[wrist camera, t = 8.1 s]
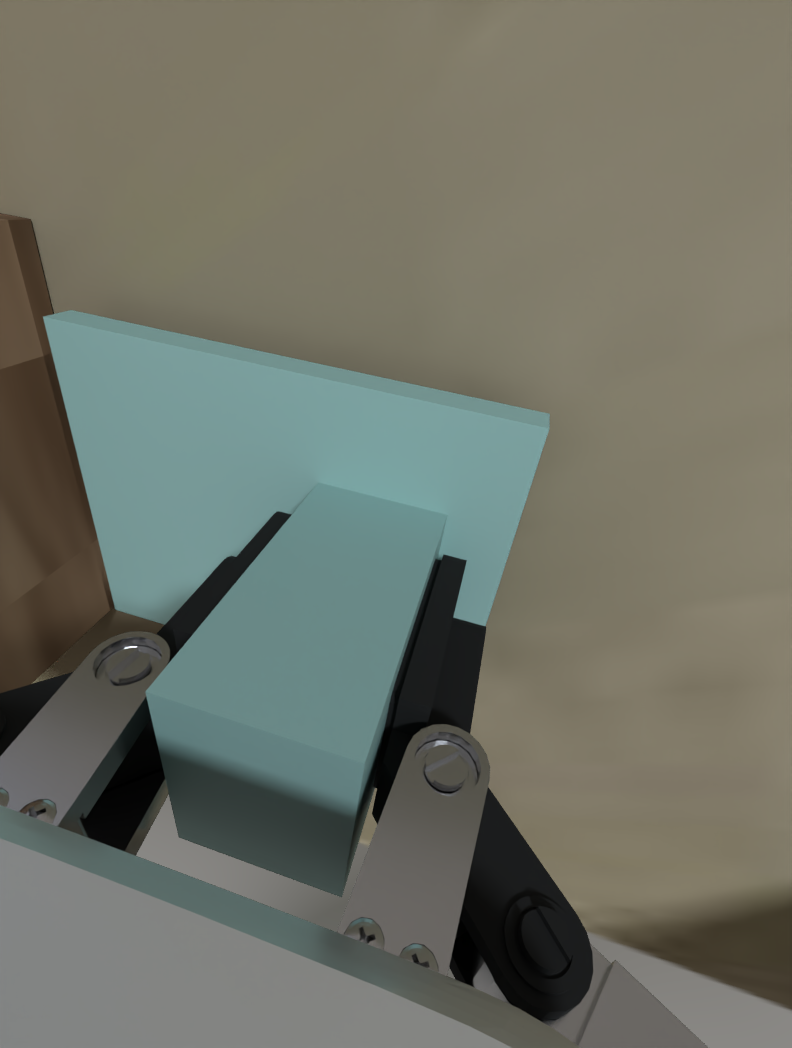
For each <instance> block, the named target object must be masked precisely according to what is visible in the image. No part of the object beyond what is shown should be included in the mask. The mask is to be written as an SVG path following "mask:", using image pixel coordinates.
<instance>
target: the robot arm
mask: <svg viewBox="0 0 792 1048" xmlns="http://www.w3.org/2000/svg"><path fill="white" fill-rule="evenodd" d="M291 515H292V514H288V513H284V512H280V511H277V512H276V513H274V514H273V516H272V517H271V518H270V519H269V520H268V521H267V522H266V524H265V525H264V526H263V527H262V528H261V529H260V530H259V532H258V533H257V534H256V535H255V536H254V537H253V538H252V540H251V541H250V542H249V543H248V544H247V545H246V546H245V548H244V549H243V550H242V551H241V552H240V553H239V554H238V556H237V557H234V556H229V557H227V558H226V559H224V560H223V561H222V562H221V563H220V564H219V566H218V567H217V568H216V569H215V570H214V571H213V572H212V573H211V574H210V575H209V577H208V578H207V579H206V580H205V581H204V582H203V583H202V584H201V585H200V587H199V588H198V589H197V590H196V591H195V592H194V593H193V594H192V595H191V597H190V598H189V599H188V600H187V601H186V602H185V603H184V604H183V605H182V606H181V608H180V609H179V610H178V611H177V612H176V613H175V614H174V615H173V616H172V618H171V619H170V620H169V621H168V622H167V623H166V624H165V625H164V626H163V627H162V629H161V630H160V631H159V632H158V633H157V634H153V633H151V632H143V631H134V632H126V633H122V634H119V635H116V636H113V637H111V638H109V639H108V640H106V641H104V642H102V643H100V644H99V645H98V646H97V647H96V648H95V649H94V650H93V651H92V652H90V654H89V655H88V656H87V657H86V658H85V659H84V661H83V662H82V663H81V664H80V665H79V666H78V667H77V669H76V670H75V671H74V672H72V673H68V674H65V675H61V676H58V677H54V678H51V679H47V680H44V681H41V682H37V683H34V684H30V685H27V686H23V687H20V688H16V689H13V690H9V691H6V692H3V693H0V1048H708V1047H707V1046H706V1045H705V1044H704V1043H703V1042H702V1041H701V1040H700V1039H699V1038H698V1037H697V1036H696V1035H695V1034H693V1033H692V1032H691V1031H690V1030H689V1029H688V1028H687V1027H686V1026H685V1025H684V1024H683V1023H682V1022H681V1021H680V1020H678V1019H677V1017H675V1016H674V1015H673V1014H672V1013H671V1012H670V1011H669V1010H668V1009H667V1008H666V1007H665V1006H664V1005H663V1004H662V1003H661V1002H660V1001H659V1000H657V999H656V998H655V997H654V996H653V995H652V994H651V993H650V992H649V991H648V990H647V989H646V988H645V987H644V986H643V985H642V984H641V983H639V982H638V981H637V980H636V979H635V978H634V977H633V976H632V975H631V974H630V973H629V972H628V971H627V970H626V969H625V968H624V967H622V966H621V965H620V964H619V963H618V962H617V961H616V960H615V961H614V962H612V963H610V962H609V961H608V960H607V959H606V958H605V957H604V956H603V955H602V954H601V953H599V952H598V951H597V950H596V949H595V948H594V947H593V946H592V945H591V944H590V942H589V939H588V935H587V932H586V930H585V928H584V927H583V925H582V923H581V921H580V919H579V917H578V916H577V914H576V913H575V911H574V910H573V908H572V907H571V905H570V904H569V902H568V901H567V900H566V898H565V897H564V895H563V894H562V892H561V891H560V890H559V888H558V887H557V885H556V884H555V882H554V881H553V880H552V878H551V877H550V875H549V874H548V872H547V871H546V869H545V868H544V867H543V865H542V864H541V862H540V861H539V859H538V858H537V857H536V855H535V854H534V852H533V851H532V849H531V848H530V846H529V845H528V844H527V842H526V841H525V839H524V838H523V836H522V835H521V834H520V832H519V831H518V829H517V828H516V826H515V825H514V823H513V822H512V821H511V819H510V818H509V816H508V815H507V813H506V812H505V811H504V809H503V808H502V806H501V805H500V803H499V802H498V801H497V799H496V798H495V796H494V795H493V793H492V792H491V790H490V789H489V788H488V785H489V780H490V765H489V761H488V758H487V754H486V753H485V751H484V749H483V748H482V746H481V745H480V743H479V742H478V741H477V740H476V739H475V738H474V737H473V736H472V735H471V734H470V730H471V724H472V717H473V711H474V704H475V698H476V692H477V685H478V679H479V672H480V666H481V659H482V653H483V647H484V640H485V634H486V626H482V625H479V624H475V623H471V622H468V621H464V620H461V619H457V618H453V617H454V612H455V608H456V604H457V600H458V596H459V591H460V587H461V583H462V579H463V575H464V570H465V566H466V562H467V560H463V559H460V558H456V557H452V556H448V555H444V554H443V557H442V560H438V559H435V561H434V564H433V568H432V571H431V574H430V577H429V580H428V583H427V586H426V589H425V592H424V595H423V598H422V601H421V604H420V607H419V610H418V614H417V617H416V620H415V623H414V626H413V629H412V632H411V635H410V638H409V641H408V644H407V647H406V650H405V653H404V657H403V660H402V663H401V666H400V669H399V672H398V675H397V678H396V681H395V684H394V688H393V691H392V695H391V699H390V703H389V708H388V713H387V718H386V724H385V729H384V734H383V739H382V744H381V749H380V754H379V759H378V764H377V769H376V774H375V779H374V785H373V787H375V788H377V792H376V797H375V802H374V807H373V812H372V815H373V817H374V819H375V821H376V823H377V827H376V830H375V833H374V835H373V838H372V841H371V843H370V846H369V848H368V851H367V854H366V856H365V859H364V862H363V864H362V867H361V870H360V872H359V875H358V877H357V880H356V883H355V885H354V888H353V891H352V893H351V896H350V899H349V901H348V904H347V906H346V909H345V911H344V915H343V917H342V920H341V922H340V925H339V927H338V930H337V932H334V931H332V930H329V929H327V928H324V927H321V926H319V925H316V924H313V923H311V922H308V921H306V920H303V919H301V918H298V917H295V916H293V915H290V914H288V913H285V912H282V911H280V910H277V909H274V908H272V907H269V906H267V905H264V904H261V903H259V902H256V901H254V900H251V899H248V898H246V897H243V896H241V895H238V894H235V893H233V892H230V891H227V890H225V889H222V888H219V887H216V886H214V885H212V884H209V883H206V882H204V881H201V880H198V879H195V878H193V877H190V876H188V875H185V874H183V873H180V872H177V871H175V870H172V869H169V868H167V867H164V866H161V865H159V864H156V863H153V862H151V861H148V860H145V859H143V858H140V857H137V856H136V854H137V852H138V850H139V848H140V846H141V845H142V843H143V841H144V839H145V837H146V835H147V834H148V832H149V830H150V828H151V826H152V824H153V822H154V820H155V819H156V817H157V815H158V813H159V811H160V809H161V807H162V806H163V804H164V802H165V800H166V798H167V796H168V794H169V792H168V788H167V784H166V779H165V775H164V771H163V766H162V762H161V758H160V753H159V749H158V745H157V740H156V736H155V732H154V727H153V723H152V719H151V714H150V710H149V706H148V701H147V697H146V693H145V692H146V690H147V689H148V688H149V687H150V686H151V684H152V683H153V682H154V681H155V679H156V678H157V677H158V676H159V675H160V673H161V672H162V671H163V670H164V669H165V667H166V666H167V665H168V664H169V663H170V661H171V660H172V659H173V658H174V657H175V655H176V654H177V653H178V652H179V650H180V649H181V648H182V647H183V646H184V644H185V643H186V642H187V641H188V640H189V638H190V637H191V636H192V635H193V634H194V632H195V631H196V630H197V629H198V628H199V626H200V625H201V624H202V623H203V622H204V620H205V619H206V618H207V617H208V615H209V614H210V613H211V612H212V611H213V609H214V608H215V607H216V606H217V605H218V603H219V602H220V601H221V600H222V599H223V597H224V596H225V595H226V594H227V593H228V591H229V590H230V589H231V588H232V586H233V585H234V584H235V583H236V582H237V580H238V579H239V578H240V577H241V576H242V574H243V573H244V572H245V571H246V570H247V568H248V567H249V566H250V565H251V564H252V562H253V561H254V560H255V559H256V557H257V556H258V555H259V554H260V553H261V551H262V550H263V549H264V548H265V547H266V545H267V544H268V543H269V542H270V541H271V539H272V538H273V537H274V536H275V535H276V533H277V532H278V531H279V530H280V528H281V527H282V526H283V525H284V524H285V522H286V521H287V520H288V519H289V518H290V516H291ZM449 967H450V969H451V971H452V973H453V975H454V977H455V979H456V980H455V979H453V978H450V977H448V976H447V974H448V970H449Z"/></svg>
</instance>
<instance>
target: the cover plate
mask: <svg viewBox="0 0 792 1048" xmlns="http://www.w3.org/2000/svg"><path fill="white" fill-rule="evenodd" d="M43 319H44V323H45V327H46V331H47V335H48V339H49V343H50V348H51V352H52V356H53V360H54V364H55V368H56V372H57V376H58V380H59V384H60V388H61V392H62V396H63V400H64V404H65V408H66V412H67V416H68V420H69V424H70V428H71V432H72V436H73V440H74V444H75V448H76V453H77V457H78V461H79V465H80V469H81V473H82V477H83V481H84V485H85V489H86V493H87V497H88V501H89V505H90V509H91V513H92V517H93V521H94V525H95V529H96V533H97V537H98V541H99V545H100V549H101V553H102V557H103V562H104V566H105V570H106V574H107V578H108V582H109V586H110V590H111V594H112V598H113V602H114V606H115V610H118V611H122V612H125V613H128V614H131V615H135V616H138V617H141V618H145V619H148V620H151V621H154V622H158V623H161V624H164V625H165V624H166V623H167V622H168V621H169V620H170V619H171V618H172V616H173V615H174V614H175V613H176V612H177V611H178V610H179V609H180V608H181V606H182V605H183V604H184V603H185V602H186V601H187V600H188V599H189V598H190V597H191V595H192V594H193V593H194V592H195V591H196V590H197V589H198V588H199V587H200V585H201V584H202V583H203V582H204V581H205V580H206V579H207V578H208V577H209V575H210V574H211V573H212V572H213V571H214V570H215V569H216V568H217V567H218V566H219V564H220V563H221V562H222V561H223V560H224V559H226V558H227V557H229V556H234V557H237V556H238V554H239V553H240V552H241V551H242V550H243V549H244V548H245V546H246V545H247V544H248V543H249V542H250V541H251V540H252V538H253V537H254V536H255V535H256V534H257V533H258V532H259V530H260V529H261V528H262V527H263V526H264V525H265V524H266V522H267V521H268V520H269V519H270V518H271V517H272V516H273V514H274V513H276V512H277V511H280V512H284V513H288V514H292V515H291V516H290V518H289V519H288V520H287V521H286V522H285V524H284V525H283V526H282V527H281V528H280V530H279V531H278V532H277V533H276V535H275V536H274V537H273V538H272V539H271V541H270V542H269V543H268V544H267V545H266V547H265V548H264V549H263V550H262V551H261V553H260V554H259V555H258V556H257V557H256V559H255V560H254V561H253V562H252V564H251V565H250V566H249V567H248V568H247V570H246V571H245V572H244V573H243V574H242V576H241V577H240V578H239V579H238V580H237V582H236V583H235V584H234V585H233V586H232V588H231V589H230V590H229V591H228V593H227V594H226V595H225V596H224V597H223V599H222V600H221V601H220V602H219V603H218V605H217V606H216V607H215V608H214V609H213V611H212V612H211V613H210V614H209V615H208V617H207V618H206V619H205V620H204V622H203V623H202V624H201V625H200V626H199V628H198V629H197V630H196V631H195V632H194V634H193V635H192V636H191V637H190V638H189V640H188V641H187V642H186V643H185V644H184V646H183V647H182V648H181V649H180V650H179V652H178V653H177V654H176V655H175V657H174V658H173V659H172V660H171V661H170V663H169V664H168V665H167V666H166V667H165V669H164V670H163V671H162V672H161V673H160V675H159V676H158V677H157V678H156V679H155V681H154V682H153V683H152V684H151V686H150V687H149V688H148V689H147V690H146V692H145V693H146V697H147V701H148V706H149V710H150V714H151V719H152V723H153V727H154V732H155V736H156V740H157V745H158V749H159V753H160V758H161V762H162V766H163V771H164V775H165V779H166V784H167V788H168V792H169V797H170V801H171V805H172V810H173V814H174V818H175V823H176V827H177V831H178V835H179V837H180V838H182V839H185V840H188V841H190V842H193V843H196V844H199V845H201V846H204V847H207V848H209V849H212V850H215V851H217V852H220V853H223V854H226V855H228V856H231V857H234V858H236V859H239V860H242V861H245V862H247V863H250V864H253V865H255V866H258V867H261V868H264V869H266V870H269V871H272V872H274V873H277V874H280V875H283V876H285V877H288V878H291V879H293V880H296V881H299V882H302V883H304V884H307V885H310V886H313V887H315V888H318V889H321V890H323V891H326V892H329V893H331V894H334V895H337V896H340V897H342V895H343V891H344V888H345V885H346V881H347V878H348V875H349V872H350V868H351V865H352V861H353V858H354V855H355V852H356V848H357V845H358V842H359V838H360V835H361V832H362V829H363V825H364V822H365V819H366V815H367V812H368V809H369V805H370V802H371V799H372V795H373V792H374V789H375V787H373V785H374V779H375V774H376V769H377V764H378V759H379V754H380V749H381V744H382V739H383V734H384V729H385V724H386V718H387V713H388V708H389V703H390V699H391V695H392V691H393V688H394V684H395V681H396V678H397V675H398V672H399V669H400V666H401V663H402V660H403V657H404V653H405V650H406V647H407V644H408V641H409V638H410V635H411V632H412V629H413V626H414V623H415V620H416V617H417V614H418V610H419V607H420V604H421V601H422V598H423V595H424V592H425V589H426V586H427V583H428V580H429V577H430V574H431V571H432V568H433V564H434V561H435V559H438V560H442V557H443V554H444V555H448V556H452V557H456V558H460V559H463V560H467V562H466V566H465V570H464V575H463V579H462V583H461V587H460V591H459V596H458V600H457V604H456V608H455V612H454V617H453V618H457V619H461V620H464V621H468V622H471V623H475V624H479V625H482V626H486V623H487V620H488V617H489V613H490V610H491V607H492V604H493V601H494V598H495V595H496V592H497V589H498V586H499V583H500V579H501V576H502V573H503V570H504V567H505V564H506V561H507V558H508V555H509V552H510V549H511V545H512V542H513V539H514V536H515V533H516V530H517V527H518V524H519V521H520V518H521V515H522V511H523V508H524V505H525V502H526V499H527V496H528V493H529V490H530V487H531V484H532V481H533V478H534V474H535V471H536V468H537V465H538V462H539V459H540V456H541V453H542V450H543V447H544V444H545V440H546V437H547V434H548V431H549V418H550V414H548V413H543V412H539V411H534V410H529V409H525V408H520V407H515V406H511V405H506V404H502V403H497V402H492V401H488V400H483V399H479V398H474V397H469V396H465V395H460V394H456V393H451V392H446V391H442V390H437V389H432V388H428V387H423V386H419V385H414V384H409V383H405V382H400V381H396V380H391V379H386V378H382V377H377V376H373V375H368V374H363V373H359V372H354V371H349V370H345V369H340V368H336V367H331V366H326V365H322V364H317V363H313V362H308V361H303V360H299V359H294V358H290V357H285V356H280V355H276V354H271V353H266V352H262V351H257V350H253V349H248V348H243V347H239V346H234V345H230V344H225V343H220V342H216V341H211V340H207V339H202V338H197V337H193V336H188V335H184V334H179V333H174V332H170V331H165V330H160V329H156V328H151V327H147V326H142V325H137V324H133V323H128V322H124V321H119V320H114V319H110V318H105V317H101V316H96V315H91V314H87V313H82V312H77V311H73V310H70V311H65V312H61V313H57V314H52V315H48V316H44V317H43Z"/></svg>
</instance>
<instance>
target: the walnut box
mask: <svg viewBox="0 0 792 1048" xmlns="http://www.w3.org/2000/svg"><path fill="white" fill-rule="evenodd" d="M52 314H53V311H52V307H51V302H50V298H49V294H48V290H47V286H46V282H45V278H44V273H43V269H42V265H41V261H40V257H39V253H38V248H37V244H36V240H35V236H34V232H33V228H32V223H31V219H27V218H22V217H17V216H12V215H6V214H1V213H0V693H3V692H6V691H9V690H13V689H16V688H20V687H23V686H27V685H30V684H31V683H33V682H34V681H35V680H36V679H37V678H38V677H39V676H40V675H41V674H42V673H43V672H44V671H45V670H46V669H48V668H49V667H50V666H51V665H52V664H53V663H54V662H55V661H56V660H57V659H58V658H59V657H60V656H62V655H63V654H64V653H65V652H66V651H67V650H68V649H69V648H70V647H71V646H72V645H73V644H74V643H75V642H77V641H78V640H79V639H80V638H81V637H82V636H83V635H84V634H85V633H86V632H87V631H88V630H89V629H90V628H92V627H93V626H94V625H95V624H96V623H97V622H98V621H99V620H100V619H101V618H102V617H103V616H104V615H106V614H107V613H108V612H109V611H110V610H111V609H112V608H113V607H114V602H113V598H112V594H111V590H110V586H109V582H108V578H107V574H106V570H105V566H104V562H103V557H102V553H101V549H100V545H99V541H98V537H97V533H96V529H95V525H94V521H93V517H92V513H91V509H90V505H89V501H88V497H87V493H86V489H85V485H84V481H83V477H82V473H81V469H80V465H79V461H78V457H77V453H76V448H75V444H74V440H73V436H72V432H71V428H70V424H69V420H68V416H67V412H66V408H65V404H64V400H63V396H62V392H61V388H60V384H59V380H58V376H57V372H56V368H55V364H54V360H53V356H52V352H51V348H50V343H49V339H48V335H47V331H46V327H45V323H44V319H43V317H44V316H48V315H52Z"/></svg>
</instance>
